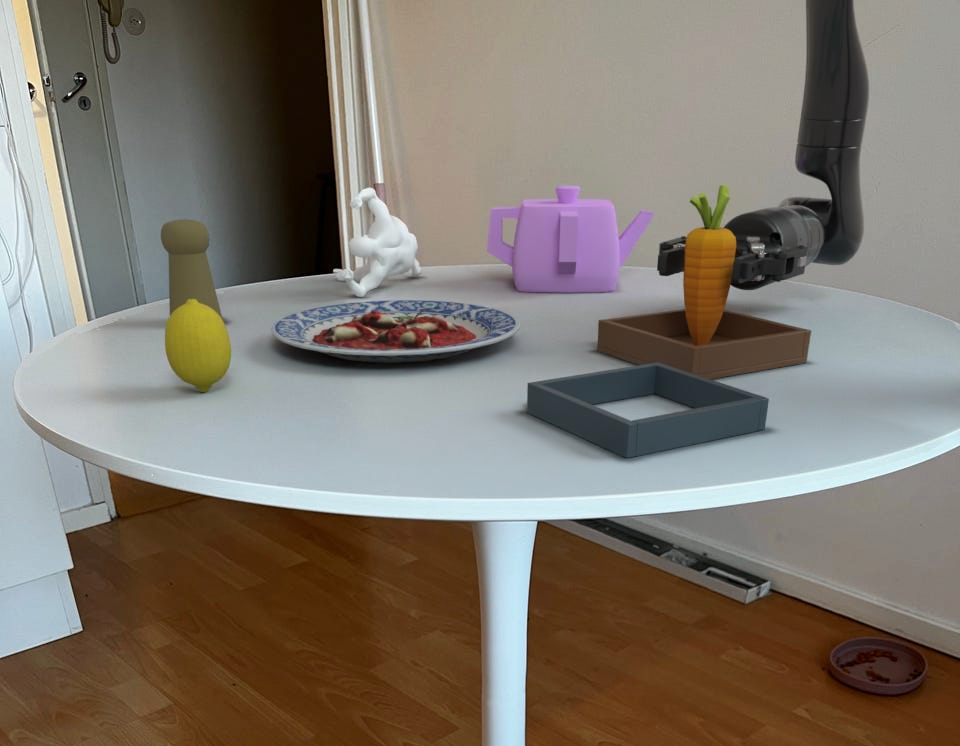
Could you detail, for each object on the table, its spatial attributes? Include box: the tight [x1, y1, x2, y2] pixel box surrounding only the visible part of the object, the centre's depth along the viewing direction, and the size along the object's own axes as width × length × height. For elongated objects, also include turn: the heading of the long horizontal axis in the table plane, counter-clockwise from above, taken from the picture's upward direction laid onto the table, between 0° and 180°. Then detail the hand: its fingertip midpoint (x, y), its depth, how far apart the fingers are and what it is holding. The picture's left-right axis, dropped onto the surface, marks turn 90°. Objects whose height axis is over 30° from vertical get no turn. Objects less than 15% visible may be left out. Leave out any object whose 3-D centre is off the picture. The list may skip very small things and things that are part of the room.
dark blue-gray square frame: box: [526, 362, 770, 459], centre depth 81 cm, size 14×14×2 cm
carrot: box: [682, 184, 736, 346], centre depth 97 cm, size 5×5×15 cm
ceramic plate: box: [270, 299, 521, 364], centre depth 105 cm, size 26×26×3 cm
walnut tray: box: [596, 308, 812, 380], centre depth 100 cm, size 15×15×3 cm
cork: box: [160, 218, 224, 321], centre depth 113 cm, size 6×6×11 cm
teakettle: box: [486, 185, 655, 294], centre depth 134 cm, size 17×17×12 cm
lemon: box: [164, 299, 232, 393], centre depth 88 cm, size 6×6×8 cm
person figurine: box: [332, 187, 423, 298], centre depth 133 cm, size 13×13×18 cm
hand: (699, 267), depth 95 cm, fingers open, 7 cm apart
